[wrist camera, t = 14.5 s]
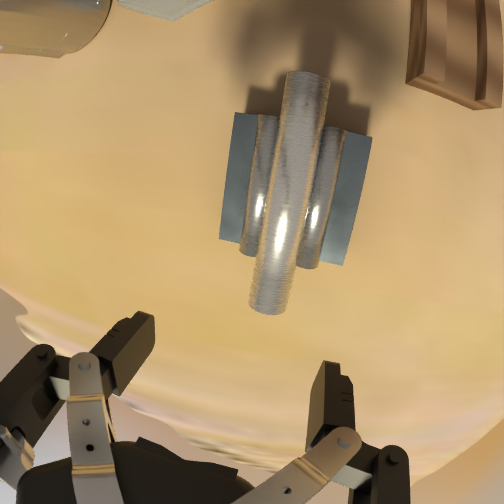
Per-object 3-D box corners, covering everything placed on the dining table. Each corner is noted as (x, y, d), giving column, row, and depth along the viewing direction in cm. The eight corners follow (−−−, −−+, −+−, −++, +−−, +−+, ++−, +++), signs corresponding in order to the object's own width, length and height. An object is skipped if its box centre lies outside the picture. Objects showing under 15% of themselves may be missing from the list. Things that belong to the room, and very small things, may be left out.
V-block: (340, 251, 26) (344, 276, 21) (229, 227, 27) (210, 247, 22) (366, 137, 22) (377, 137, 17) (244, 115, 23) (226, 110, 18)
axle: (288, 300, 23) (283, 318, 20) (253, 292, 23) (244, 308, 21) (330, 86, 18) (330, 75, 15) (289, 79, 18) (284, 68, 15)
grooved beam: (473, 110, 18) (501, 107, 14) (405, 83, 19) (423, 73, 15) (471, -25, 12) (490, -43, 7) (409, -51, 13) (420, -75, 8)
